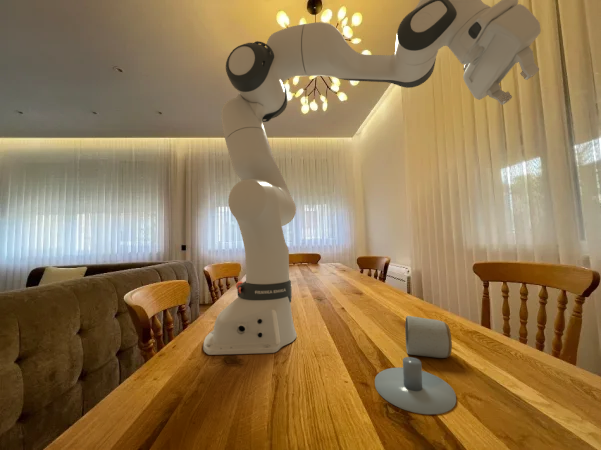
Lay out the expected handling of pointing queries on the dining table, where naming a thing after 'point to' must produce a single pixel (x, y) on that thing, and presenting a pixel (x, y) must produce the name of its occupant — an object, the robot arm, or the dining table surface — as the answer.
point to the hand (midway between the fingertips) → (519, 89)
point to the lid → (415, 389)
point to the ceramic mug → (427, 337)
